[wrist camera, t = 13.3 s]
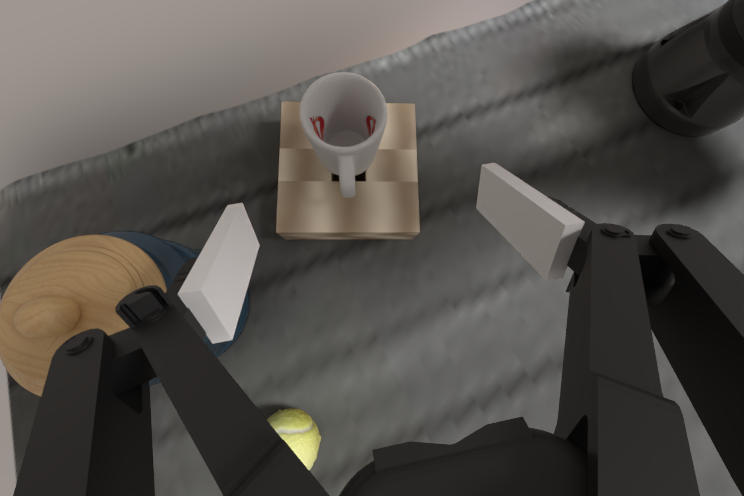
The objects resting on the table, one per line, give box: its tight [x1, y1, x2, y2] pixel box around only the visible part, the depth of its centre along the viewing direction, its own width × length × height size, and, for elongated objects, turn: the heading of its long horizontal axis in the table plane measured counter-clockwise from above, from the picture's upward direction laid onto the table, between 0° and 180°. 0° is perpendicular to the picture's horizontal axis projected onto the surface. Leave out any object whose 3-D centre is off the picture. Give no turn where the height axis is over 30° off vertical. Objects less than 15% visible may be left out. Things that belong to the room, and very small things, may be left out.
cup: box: [299, 72, 387, 198], centre depth 29 cm, size 11×8×8 cm
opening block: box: [276, 102, 420, 240], centre depth 35 cm, size 16×16×4 cm
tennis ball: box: [267, 408, 321, 470], centre depth 29 cm, size 6×7×7 cm
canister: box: [0, 231, 250, 396], centre depth 25 cm, size 13×13×18 cm
